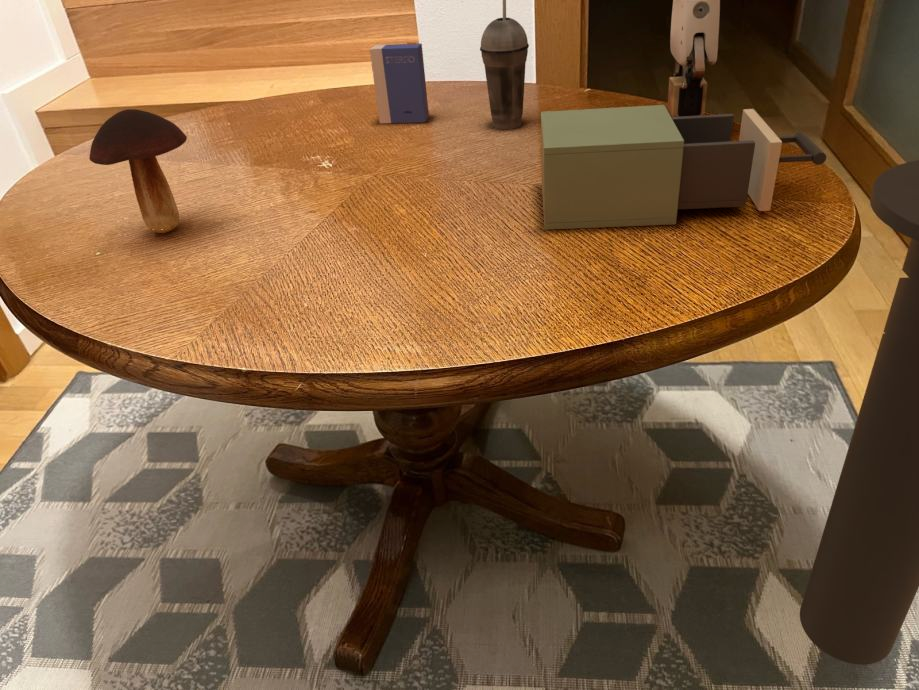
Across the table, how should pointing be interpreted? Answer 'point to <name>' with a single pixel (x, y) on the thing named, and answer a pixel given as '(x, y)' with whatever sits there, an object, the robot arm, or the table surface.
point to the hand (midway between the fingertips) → (685, 108)
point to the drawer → (733, 160)
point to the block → (674, 95)
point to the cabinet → (610, 167)
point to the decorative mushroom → (142, 160)
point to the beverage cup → (505, 69)
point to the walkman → (400, 83)
